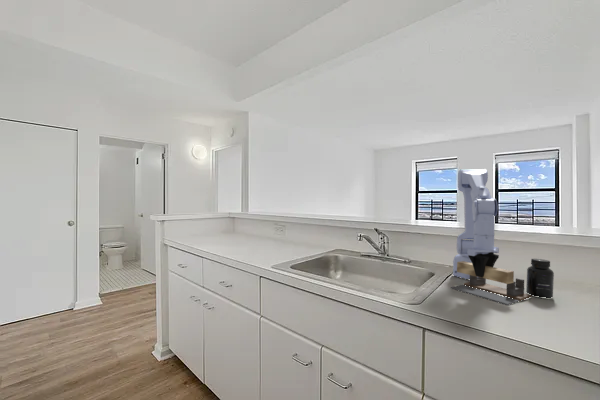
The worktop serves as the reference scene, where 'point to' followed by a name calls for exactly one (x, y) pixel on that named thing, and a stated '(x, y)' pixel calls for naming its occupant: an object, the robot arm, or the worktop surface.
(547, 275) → the supplement bottle
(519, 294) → the stand
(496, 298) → the mat
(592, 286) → the worktop surface
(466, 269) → the rail
